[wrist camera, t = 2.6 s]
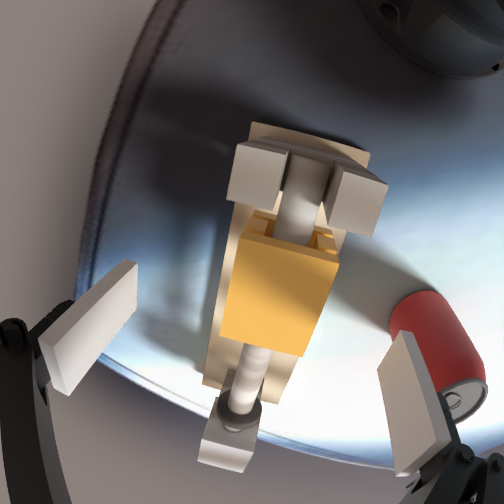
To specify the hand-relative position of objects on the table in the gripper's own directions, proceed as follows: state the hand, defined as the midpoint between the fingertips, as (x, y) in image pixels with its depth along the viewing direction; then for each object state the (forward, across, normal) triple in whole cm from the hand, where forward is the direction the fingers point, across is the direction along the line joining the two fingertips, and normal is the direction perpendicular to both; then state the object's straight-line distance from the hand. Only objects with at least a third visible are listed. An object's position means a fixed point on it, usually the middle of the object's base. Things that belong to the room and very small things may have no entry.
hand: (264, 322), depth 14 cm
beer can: (+13, +15, -5) cm, 21 cm away
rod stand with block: (+13, 0, -6) cm, 14 cm away
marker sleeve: (+6, 0, 0) cm, 6 cm away
